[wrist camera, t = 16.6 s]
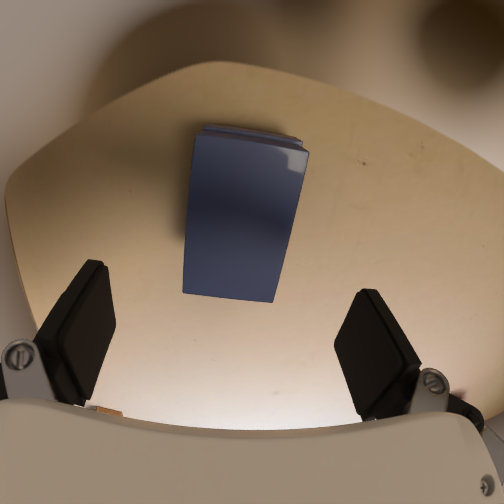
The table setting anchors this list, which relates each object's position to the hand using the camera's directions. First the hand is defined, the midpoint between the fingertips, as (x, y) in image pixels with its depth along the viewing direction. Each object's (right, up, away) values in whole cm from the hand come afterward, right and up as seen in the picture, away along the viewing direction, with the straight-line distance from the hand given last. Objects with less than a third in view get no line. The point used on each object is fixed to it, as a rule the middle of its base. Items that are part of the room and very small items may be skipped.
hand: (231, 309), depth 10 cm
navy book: (0, +5, +8) cm, 9 cm away
